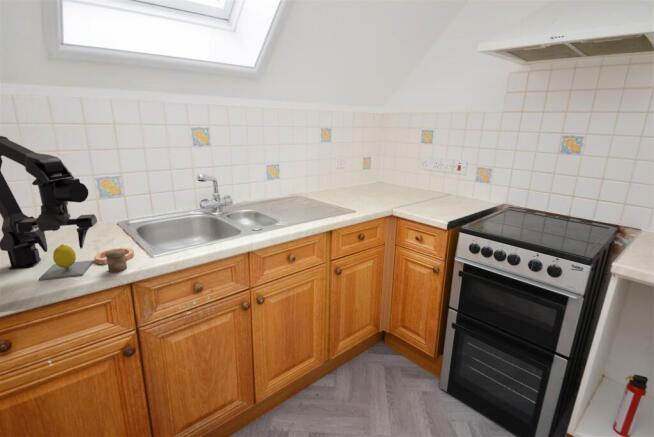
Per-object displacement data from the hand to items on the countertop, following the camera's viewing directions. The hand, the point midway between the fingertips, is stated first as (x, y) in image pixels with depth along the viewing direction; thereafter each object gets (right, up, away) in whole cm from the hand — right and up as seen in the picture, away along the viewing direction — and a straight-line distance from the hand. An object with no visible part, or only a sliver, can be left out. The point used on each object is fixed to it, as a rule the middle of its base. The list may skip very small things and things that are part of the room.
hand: (64, 249), depth 108 cm
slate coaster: (0, -7, +2) cm, 7 cm away
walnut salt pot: (+15, -6, +3) cm, 16 cm away
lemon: (0, -6, +2) cm, 7 cm away
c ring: (+8, -4, +12) cm, 15 cm away
